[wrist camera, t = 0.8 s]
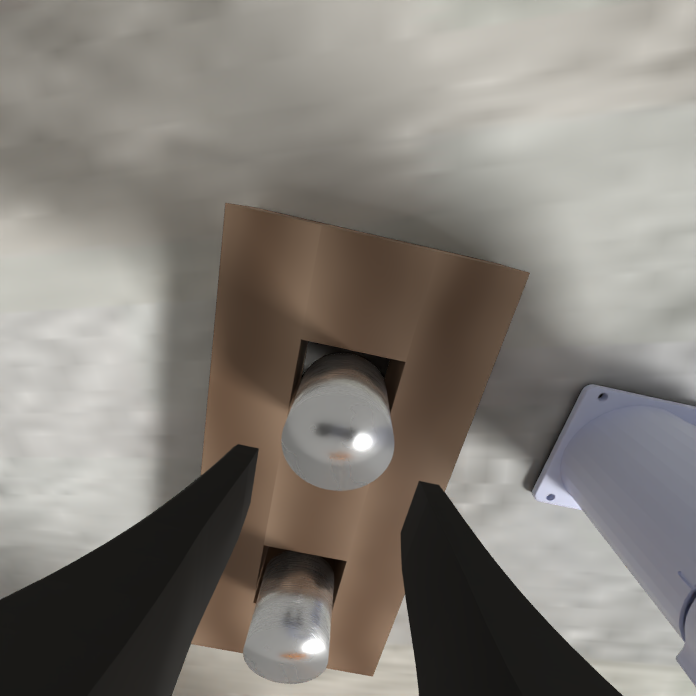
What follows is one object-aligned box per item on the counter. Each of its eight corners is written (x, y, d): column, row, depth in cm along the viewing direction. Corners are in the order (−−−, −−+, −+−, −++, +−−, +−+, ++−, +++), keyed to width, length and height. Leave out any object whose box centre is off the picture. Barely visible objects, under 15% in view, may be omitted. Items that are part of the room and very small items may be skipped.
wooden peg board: (493, 262, 17) (529, 272, 14) (370, 611, 26) (372, 676, 22) (255, 207, 17) (225, 203, 13) (211, 581, 26) (185, 643, 22)
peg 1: (340, 557, 20) (336, 637, 16) (327, 605, 21) (319, 690, 17) (270, 544, 19) (248, 621, 16) (260, 593, 21) (238, 675, 17)
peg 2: (396, 363, 16) (407, 407, 12) (374, 438, 17) (378, 500, 13) (307, 344, 15) (290, 383, 12) (293, 421, 17) (273, 479, 13)
